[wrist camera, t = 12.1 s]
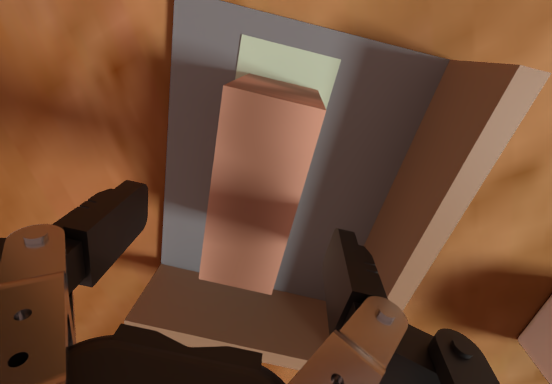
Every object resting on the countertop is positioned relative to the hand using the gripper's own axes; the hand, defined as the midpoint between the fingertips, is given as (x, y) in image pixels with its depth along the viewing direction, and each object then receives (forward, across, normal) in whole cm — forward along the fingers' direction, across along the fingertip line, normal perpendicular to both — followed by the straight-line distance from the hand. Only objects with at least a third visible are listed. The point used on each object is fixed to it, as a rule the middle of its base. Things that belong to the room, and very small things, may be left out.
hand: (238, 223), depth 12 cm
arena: (+8, -2, +2) cm, 8 cm away
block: (+7, 0, 0) cm, 7 cm away
